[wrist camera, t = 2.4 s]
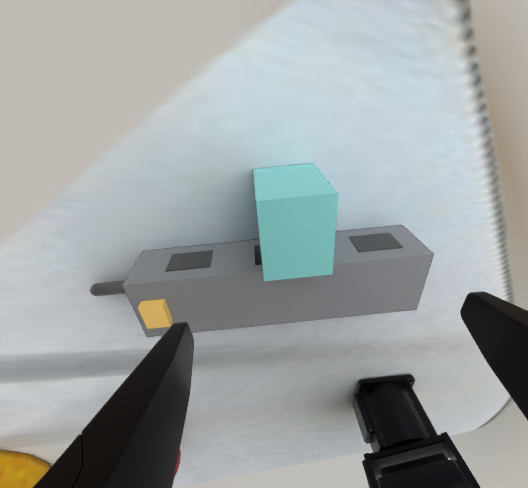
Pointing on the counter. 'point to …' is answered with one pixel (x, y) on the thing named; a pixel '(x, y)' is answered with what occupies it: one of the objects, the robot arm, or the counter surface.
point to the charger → (295, 221)
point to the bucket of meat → (20, 470)
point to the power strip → (273, 283)
